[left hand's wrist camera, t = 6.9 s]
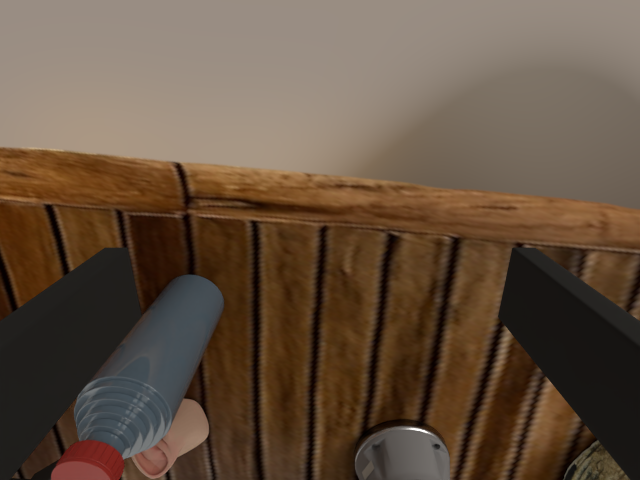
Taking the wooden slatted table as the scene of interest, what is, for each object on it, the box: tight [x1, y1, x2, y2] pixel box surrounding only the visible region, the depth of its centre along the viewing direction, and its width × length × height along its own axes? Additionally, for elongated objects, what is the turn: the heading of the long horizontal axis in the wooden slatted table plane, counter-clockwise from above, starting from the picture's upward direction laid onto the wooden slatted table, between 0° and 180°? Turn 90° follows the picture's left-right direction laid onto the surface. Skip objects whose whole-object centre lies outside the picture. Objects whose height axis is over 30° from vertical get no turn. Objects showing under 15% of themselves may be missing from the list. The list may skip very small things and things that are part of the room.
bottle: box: [74, 275, 224, 460], centre depth 39 cm, size 8×8×25 cm
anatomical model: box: [131, 399, 209, 479], centre depth 56 cm, size 13×4×12 cm
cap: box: [51, 440, 125, 480], centre depth 27 cm, size 4×4×2 cm
